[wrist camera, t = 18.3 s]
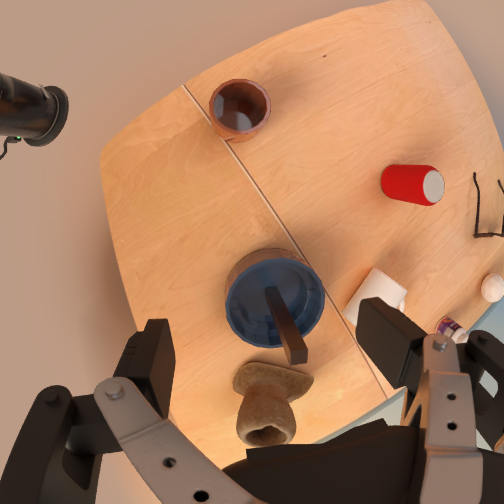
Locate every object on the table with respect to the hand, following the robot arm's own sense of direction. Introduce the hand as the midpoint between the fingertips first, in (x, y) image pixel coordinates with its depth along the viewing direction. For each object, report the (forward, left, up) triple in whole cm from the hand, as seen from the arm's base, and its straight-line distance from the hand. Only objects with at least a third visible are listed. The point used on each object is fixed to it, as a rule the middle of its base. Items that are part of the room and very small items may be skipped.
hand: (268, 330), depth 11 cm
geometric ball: (+65, -20, -33) cm, 76 cm away
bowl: (+5, -13, -33) cm, 36 cm away
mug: (+25, -17, -33) cm, 45 cm away
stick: (+5, -13, -32) cm, 35 cm away
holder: (+1, +15, -33) cm, 36 cm away
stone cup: (+4, -34, -33) cm, 48 cm away
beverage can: (+28, +5, -33) cm, 44 cm away
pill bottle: (+49, -29, -33) cm, 66 cm away
